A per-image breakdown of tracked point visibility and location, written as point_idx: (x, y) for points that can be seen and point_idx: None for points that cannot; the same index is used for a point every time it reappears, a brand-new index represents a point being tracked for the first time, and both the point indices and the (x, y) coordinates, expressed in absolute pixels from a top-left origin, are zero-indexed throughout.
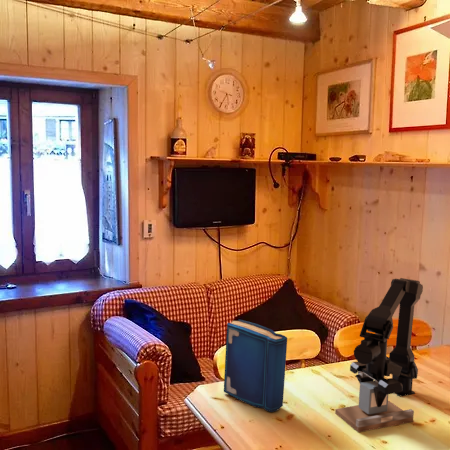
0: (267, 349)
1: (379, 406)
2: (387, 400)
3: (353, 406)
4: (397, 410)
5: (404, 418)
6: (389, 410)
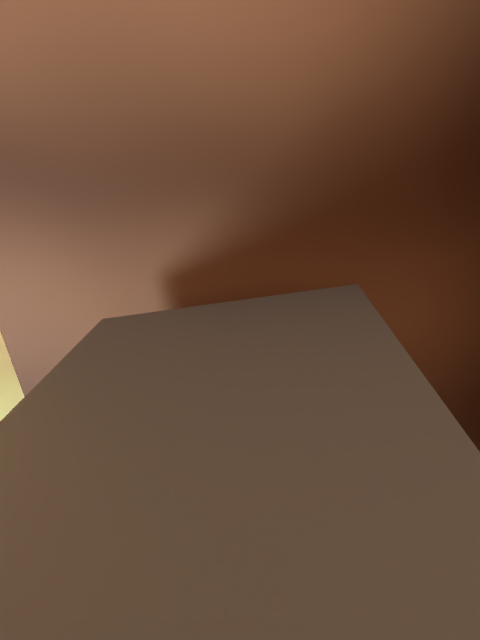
0: None
1: None
2: (421, 384)
3: None
4: (272, 18)
5: None
6: (251, 172)
